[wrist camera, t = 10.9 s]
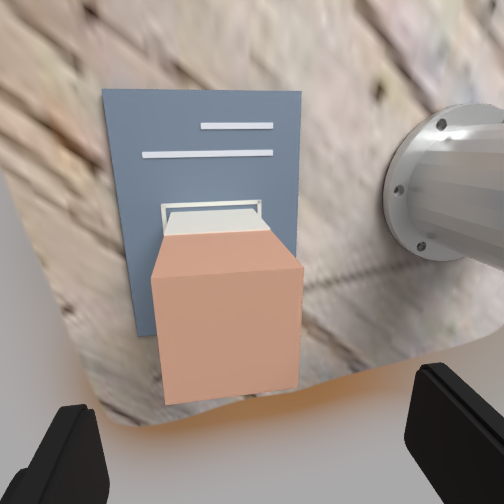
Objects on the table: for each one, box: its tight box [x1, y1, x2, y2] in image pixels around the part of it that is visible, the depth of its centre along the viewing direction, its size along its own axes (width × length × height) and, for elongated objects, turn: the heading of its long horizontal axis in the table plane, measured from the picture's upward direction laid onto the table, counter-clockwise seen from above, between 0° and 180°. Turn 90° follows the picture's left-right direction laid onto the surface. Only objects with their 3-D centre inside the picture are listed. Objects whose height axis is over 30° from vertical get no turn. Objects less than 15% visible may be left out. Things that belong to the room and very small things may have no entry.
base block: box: [164, 209, 271, 236], centre depth 22 cm, size 6×6×6 cm
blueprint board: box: [102, 89, 301, 337], centre depth 24 cm, size 13×18×1 cm
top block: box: [151, 230, 304, 405], centre depth 16 cm, size 6×6×6 cm
